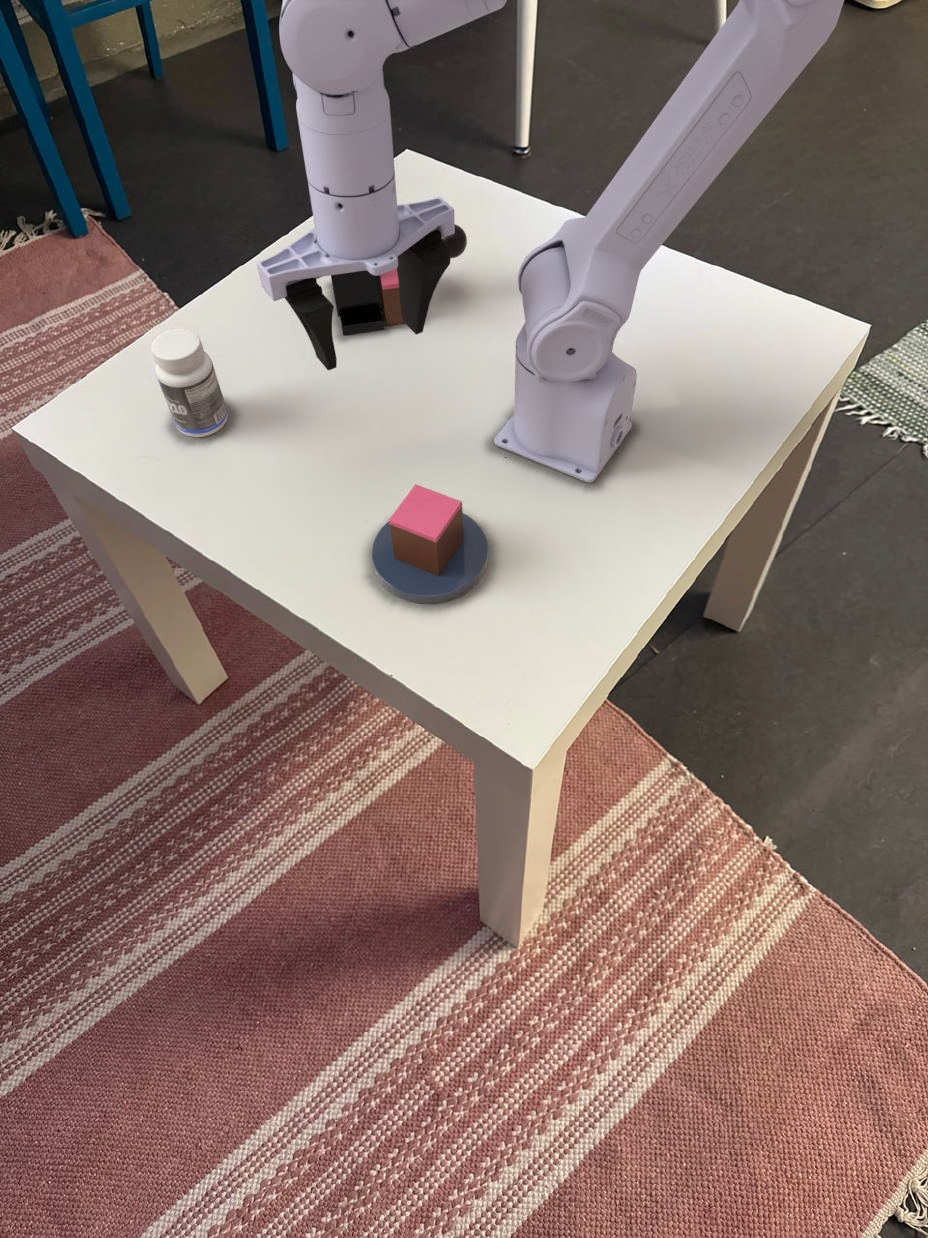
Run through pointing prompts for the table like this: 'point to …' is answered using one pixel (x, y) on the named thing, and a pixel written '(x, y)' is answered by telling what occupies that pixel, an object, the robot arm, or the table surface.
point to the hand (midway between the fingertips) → (370, 343)
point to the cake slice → (427, 529)
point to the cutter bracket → (358, 301)
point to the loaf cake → (391, 297)
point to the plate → (426, 585)
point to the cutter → (456, 242)
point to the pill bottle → (189, 383)
